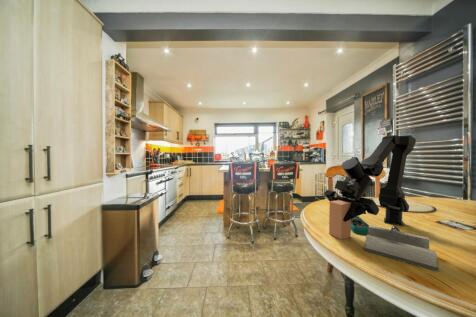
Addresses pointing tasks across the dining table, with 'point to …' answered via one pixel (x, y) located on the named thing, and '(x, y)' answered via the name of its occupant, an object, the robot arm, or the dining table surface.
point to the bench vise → (401, 246)
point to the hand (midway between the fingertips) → (337, 218)
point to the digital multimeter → (359, 225)
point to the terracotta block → (339, 219)
